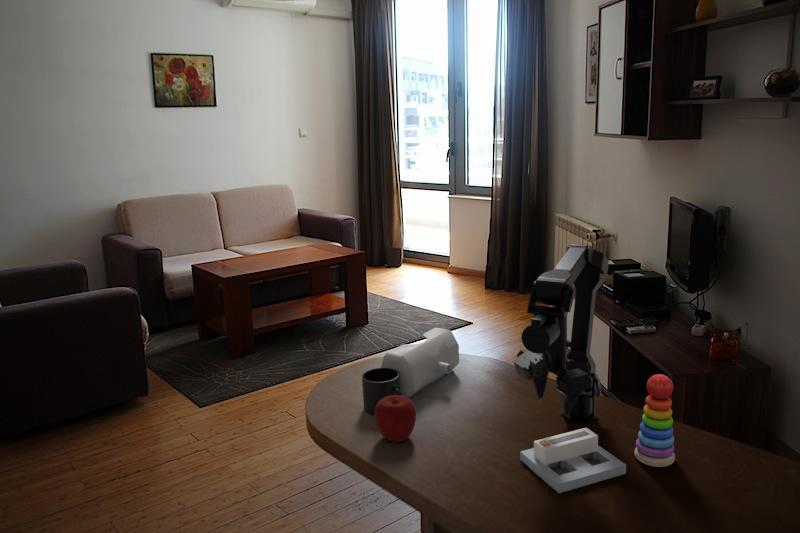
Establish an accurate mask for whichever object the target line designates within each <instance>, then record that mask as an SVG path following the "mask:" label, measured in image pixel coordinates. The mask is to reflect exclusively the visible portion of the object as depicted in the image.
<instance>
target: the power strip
mask: <svg viewBox="0 0 800 533" xmlns="http://www.w3.org/2000/svg"><path fill="white" fill-rule="evenodd" d="M598 445H599V435H598V434H597V433H595V432H593V431H592V430H591V429H589V428H588V427H583V428H579V429H575V430H572V431H568V432H564V433H563V432H562V433H560V434H556V435H553V436H547V437H545V438H541V439H538V440H533V448H534V457H535V458H537V459H538V460H539V461H540V462H541V463H542V464H544V465H548V464H549V468H554V467H557V466H558V462H559V461H562V460H566V459H570V458H573V457H577V456H581V455H582V458H583V459H586V458H590V453H592V452H595V451H598Z"/></svg>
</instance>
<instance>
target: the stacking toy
mask: <svg viewBox="0 0 800 533" xmlns="http://www.w3.org/2000/svg"><path fill="white" fill-rule="evenodd" d="M646 390H647V392H648V394H649V395H647V396H646V397H645V405H644V406H643V414H642V415H641V416H642V417H641V420H642V421H641V422H640V423H639V424H640V425H639V431H638V434H637V437H638V438H637V439H636V440H635V448H634V451H633V452H634V457H635V458H636V459H637V460H638V461H639V462H640V463H641V464H644V465H646V466H650V467H654V468H655V467H656V468H663V467H664V468H665V467H669V466H671V465H672V464H673V463H675V460H676V454H675V452H674V451H675V445H674V443H675V436H674V435H673V433H674V428H673V424H674V419H673V417H672V415H673V409H672V405H673V402H672V399H671V398H670V396H671V395H672V393H673V392H674V384H673V381H672V379H670V377H668V376H666V375H665V374H661V373H658V374H653V375H652V376H650V377H649V378H648V380H647V382H646Z"/></svg>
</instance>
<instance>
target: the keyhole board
mask: <svg viewBox="0 0 800 533" xmlns="http://www.w3.org/2000/svg"><path fill="white" fill-rule="evenodd" d="M519 455H520V457H519V458H520V461H521V462H522V463H523V464H524V465H525V466H527V467H528V468H529V469H530V470H531V471H532V472H533V473H535V474H536V475H537V476H538V477H539V478H540V479H542V480H543V481H544V482H545V483H546V484H547V485H548V486H549V487H551V489H553V490H554V491H555V492H556V493H558V494H561V493H564V492H569V491H572V490H576V489H578V488H582V487H586V486H589V485H592V484H596V483H599V482H603V481H606V480H610V479H612V478H617V477H619V476H622V475H626V474H627V464H626V463H625V462H623V461H621V460H620V459H618V458H617V456H614V455H613V454H611V453H610V452H608V451H607V450H606V449H604V448H603V447H601V446H600V445H599V444H598V451H595V452H592V453H590V458H586V459H583V458H582V455H581V456H577V457H573V458H570V459H566V460H562V461H559V462H558V466H557V467H554V468H549V464H548V465H544V464H542V463H541V462H540V461H539V460H538V459H537V458H535V457H534V447H532V448H528V449H525V450H520V454H519Z"/></svg>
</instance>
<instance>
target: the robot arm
mask: <svg viewBox="0 0 800 533" xmlns="http://www.w3.org/2000/svg"><path fill="white" fill-rule="evenodd" d="M608 272H609V259H608V258H607V256H606V254H605V253H603V252H601V251H599V250H596V249H594V247H593V246H592V245H590V244H585V243H571V244H568V245H567V247H566V252H565V253H564V255H563V256H562V257H561V259H559V261H558V263H557V264H556V265H555V266H554V268H553V269H552V270H549V271H545V272H543V273H541V274H540V275H539V276H538V277H537V278H536V280H535V281H533V283H532V286H531V292H530V296H529V300H528V306H527V309H526V314H529V315H534V316H533V317H532V318H531V319H530V324H529V325H527V326H526V327H525V328H524V329H523V330H522V333H521V336H520V337H521V342H522V345H523V346H524V349H520V350H519V351H518V352H517V354H516V358H514V359H513V360H512V362H513V365H514V367H515V370H516V372H517V375H519V376H521V377H523V378H524V379H525V380H527V381H531V382H532V386H533V387H534V391H535V394H536V397H537V399H541V398H543V397H544V394H545V391H546V385H547V382H548V381H547V380H548V378H549V373H552V374H553V375H555V376H556V381H555V383H556V385H557V386H556V387H555V389H556V390H557V391H558V392H559V393H560V395H561V405H562V406H561V407H562V410H561V411H560V414H561V415H562V416H564V417H565V418H566V419H568V420H569V421H571V422H573V423H574V424H576V425H577V424H583V423H586V422H591V421H593V420H597V419H599V415H598V414H596V413H595V399H596V398H597V397H601V396H602V394H601V393H602V390H601V389H602V384H601V379H600V378H599V376H598V374H597V373H596V372H597V365H596V363H595V360H594V359H593V357H592V355H591V347H592V339H593V338H592V336H593V327H594V316H595V306H596V298H597V297H596V296H597V291H598V290H599V289H600V287H602V285H603V284H604V282H605V279H606V278H605V277H606V275H607V274H608ZM573 303H574V305H573ZM537 304H538V305H537ZM572 306H573V307H572ZM572 308H573V315H572V316H573V317H572V327H571V337H570V340H569V339H568V313H571V310H572ZM568 348H569V352H568Z"/></svg>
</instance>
